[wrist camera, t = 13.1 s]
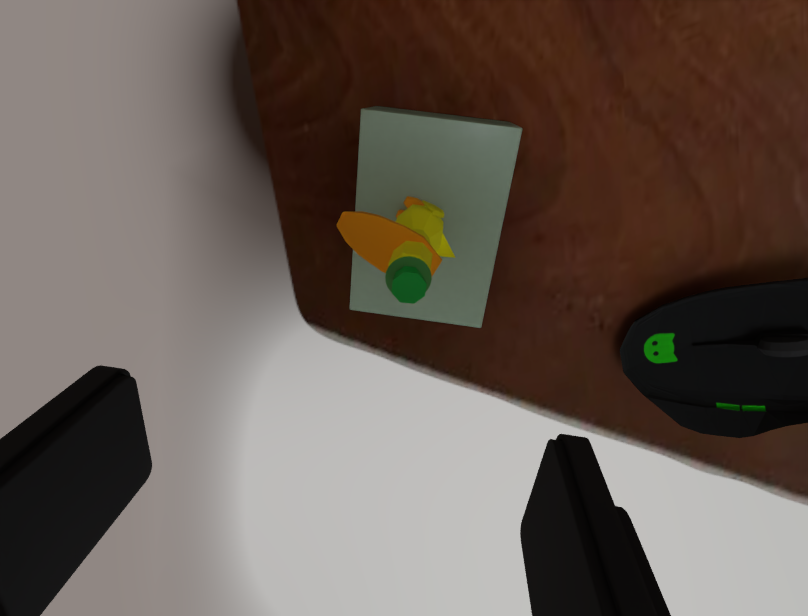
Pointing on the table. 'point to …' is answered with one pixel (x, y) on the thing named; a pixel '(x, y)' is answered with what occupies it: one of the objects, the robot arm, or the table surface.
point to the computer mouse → (726, 358)
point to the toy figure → (400, 245)
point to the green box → (436, 203)
